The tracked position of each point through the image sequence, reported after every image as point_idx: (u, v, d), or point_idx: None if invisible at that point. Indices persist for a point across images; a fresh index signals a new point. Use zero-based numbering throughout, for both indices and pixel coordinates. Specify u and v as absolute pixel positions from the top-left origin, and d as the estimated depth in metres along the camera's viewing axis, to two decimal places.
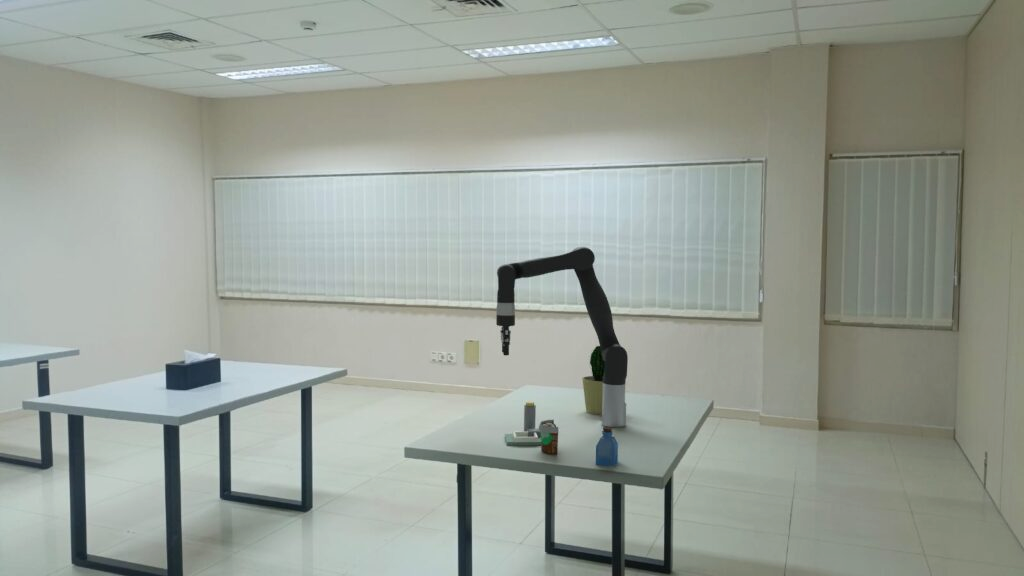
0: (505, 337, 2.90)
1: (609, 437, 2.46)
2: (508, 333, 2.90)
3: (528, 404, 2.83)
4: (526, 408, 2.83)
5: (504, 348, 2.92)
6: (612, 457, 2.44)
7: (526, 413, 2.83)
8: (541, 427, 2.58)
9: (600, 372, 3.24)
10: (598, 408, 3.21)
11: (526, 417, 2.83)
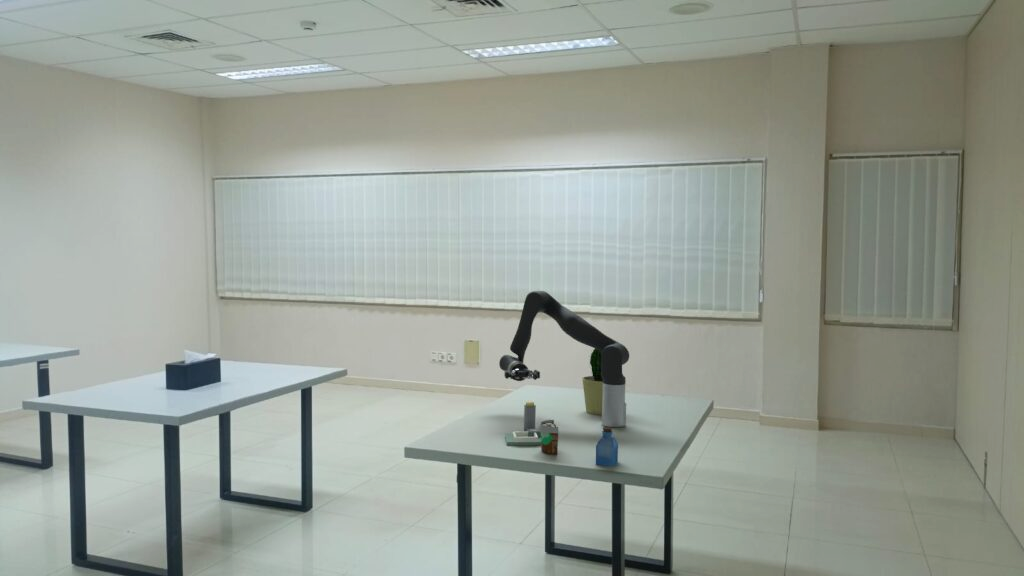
0: (505, 375, 3.01)
1: (609, 437, 2.46)
2: None
3: (528, 404, 2.83)
4: (526, 408, 2.83)
5: None
6: (612, 457, 2.44)
7: (526, 413, 2.83)
8: (541, 427, 2.58)
9: (600, 372, 3.24)
10: (598, 408, 3.21)
11: (526, 417, 2.83)
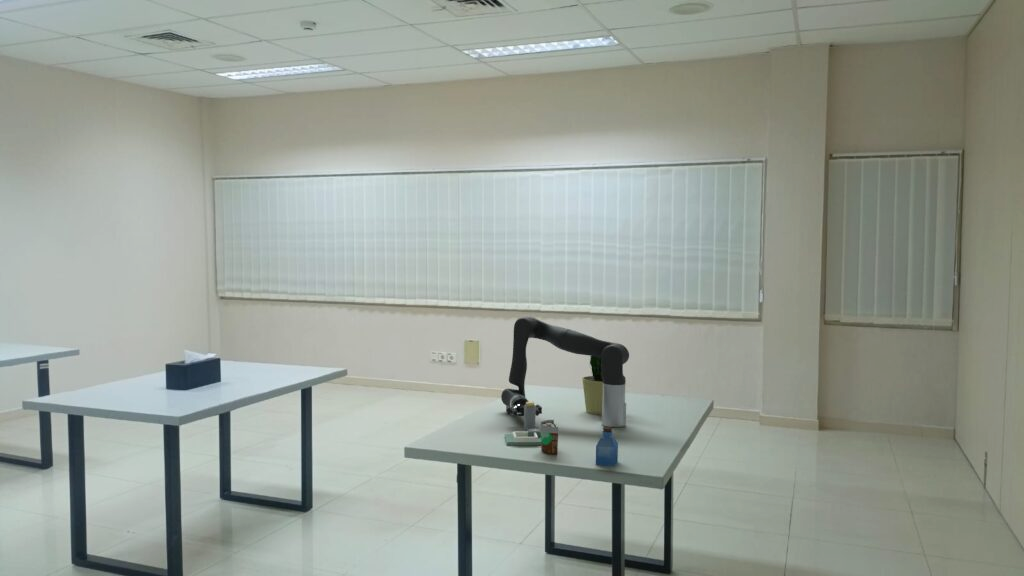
0: (506, 410, 2.98)
1: (609, 437, 2.46)
2: (506, 407, 2.99)
3: (528, 404, 2.83)
4: (526, 408, 2.83)
5: (513, 413, 2.94)
6: (612, 457, 2.44)
7: (526, 413, 2.83)
8: (541, 427, 2.58)
9: (600, 372, 3.24)
10: (598, 408, 3.21)
11: (526, 417, 2.83)
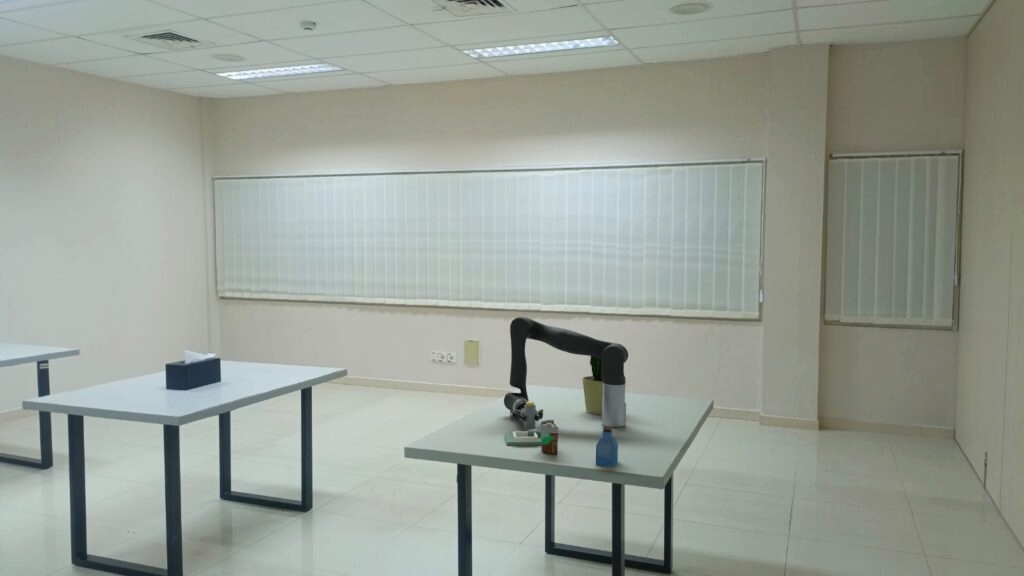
0: (512, 416, 2.89)
1: (609, 437, 2.46)
2: (511, 412, 2.90)
3: (528, 404, 2.83)
4: (526, 408, 2.83)
5: None
6: (612, 457, 2.44)
7: (526, 413, 2.83)
8: (541, 427, 2.58)
9: (600, 372, 3.24)
10: (598, 408, 3.21)
11: (526, 417, 2.83)
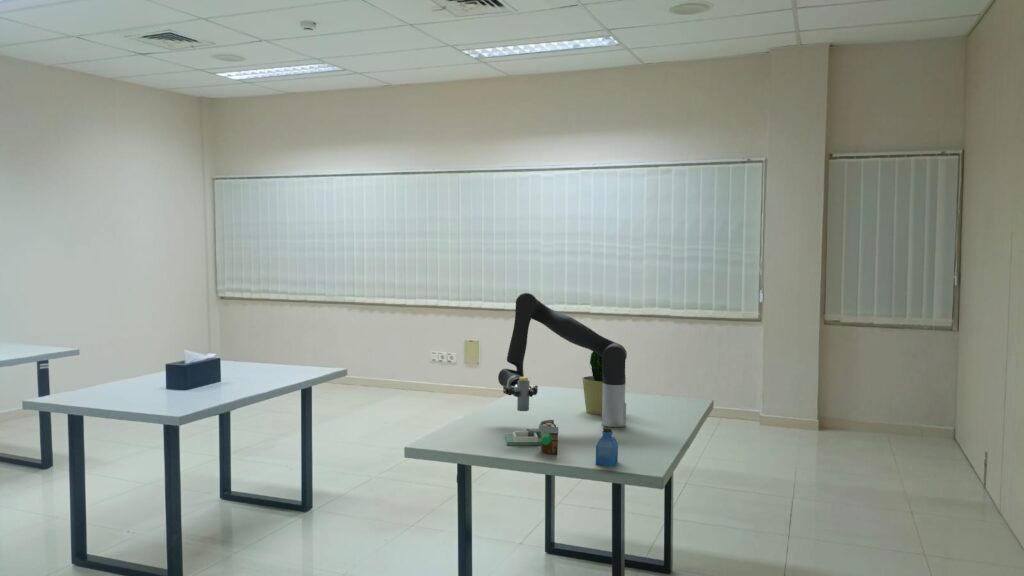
0: (505, 391, 2.78)
1: (609, 437, 2.46)
2: (504, 388, 2.80)
3: (522, 379, 2.73)
4: (519, 383, 2.73)
5: (515, 394, 2.74)
6: (612, 457, 2.44)
7: (519, 388, 2.73)
8: (541, 427, 2.58)
9: (600, 372, 3.24)
10: (598, 408, 3.21)
11: (519, 392, 2.73)
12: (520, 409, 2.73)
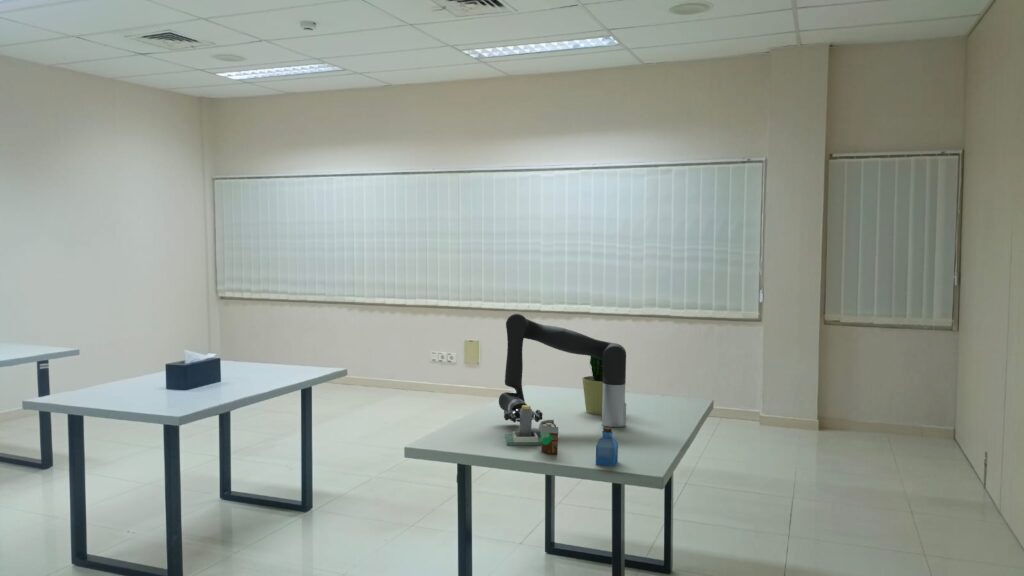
0: (504, 416, 2.76)
1: (609, 437, 2.46)
2: (504, 412, 2.78)
3: (524, 407, 2.71)
4: (522, 412, 2.71)
5: None
6: (612, 457, 2.44)
7: (522, 417, 2.71)
8: (541, 427, 2.58)
9: (600, 372, 3.24)
10: (598, 408, 3.21)
11: (522, 421, 2.71)
12: None
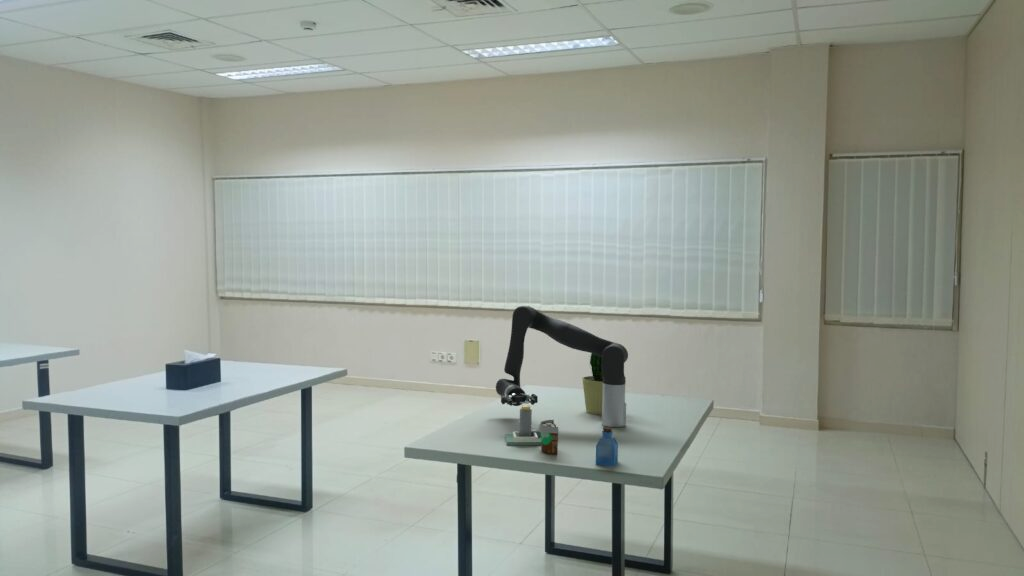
0: (501, 400, 2.90)
1: (609, 437, 2.46)
2: None
3: (524, 408, 2.70)
4: (522, 412, 2.70)
5: (508, 403, 2.86)
6: (612, 457, 2.44)
7: (522, 417, 2.70)
8: (541, 427, 2.58)
9: (600, 372, 3.24)
10: (598, 408, 3.21)
11: (522, 422, 2.70)
12: None
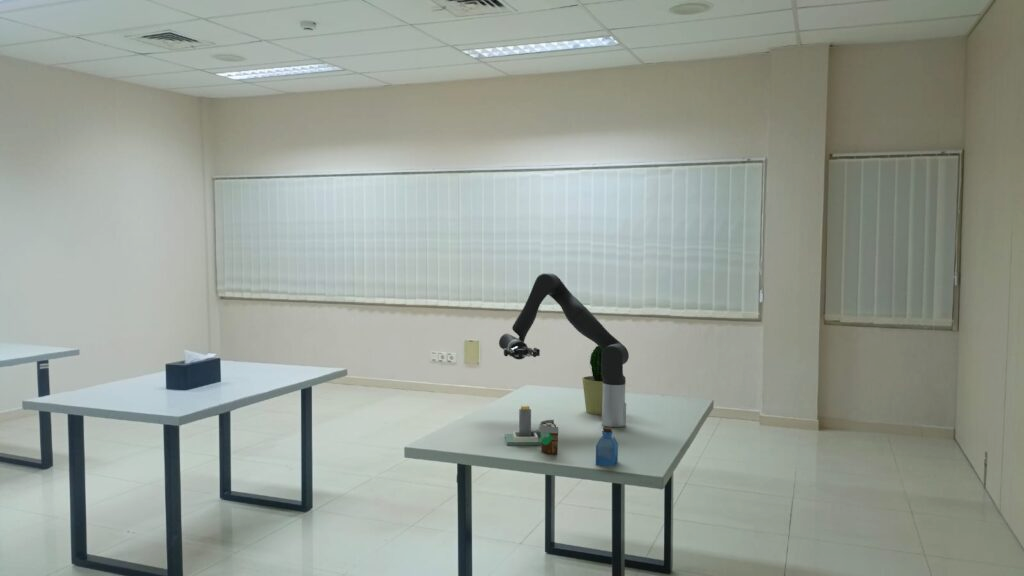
0: (504, 353, 2.96)
1: (609, 437, 2.46)
2: None
3: (523, 408, 2.70)
4: (521, 412, 2.70)
5: None
6: (612, 457, 2.44)
7: (521, 417, 2.70)
8: (541, 427, 2.58)
9: (600, 372, 3.24)
10: (598, 408, 3.21)
11: (521, 422, 2.70)
12: None
